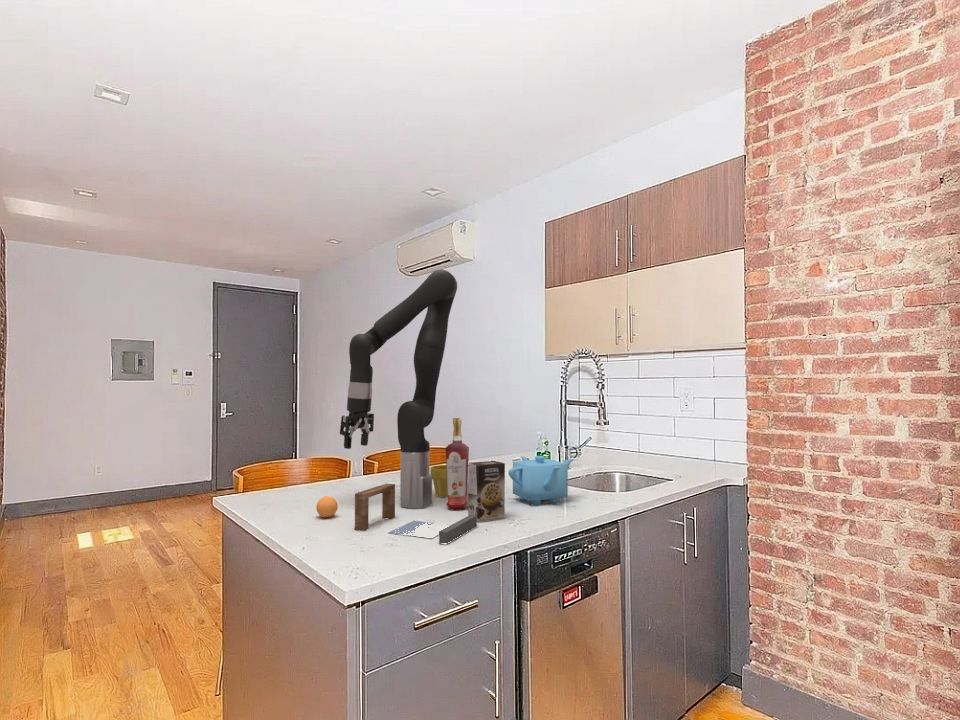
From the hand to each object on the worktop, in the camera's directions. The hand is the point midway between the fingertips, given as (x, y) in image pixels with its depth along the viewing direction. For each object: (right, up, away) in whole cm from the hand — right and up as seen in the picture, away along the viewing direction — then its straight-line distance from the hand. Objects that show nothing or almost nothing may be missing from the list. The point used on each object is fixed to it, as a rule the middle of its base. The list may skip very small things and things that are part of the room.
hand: (355, 446), depth 178 cm
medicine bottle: (+38, -19, +4) cm, 42 cm away
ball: (-5, -15, -15) cm, 22 cm away
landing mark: (+24, -18, -28) cm, 41 cm away
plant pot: (+28, -19, +14) cm, 36 cm away
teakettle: (+60, -19, +6) cm, 63 cm away
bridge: (+10, -18, -22) cm, 30 cm away
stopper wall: (+34, -18, -33) cm, 51 cm away
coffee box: (+42, -18, -17) cm, 48 cm away
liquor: (+33, -19, -5) cm, 38 cm away
